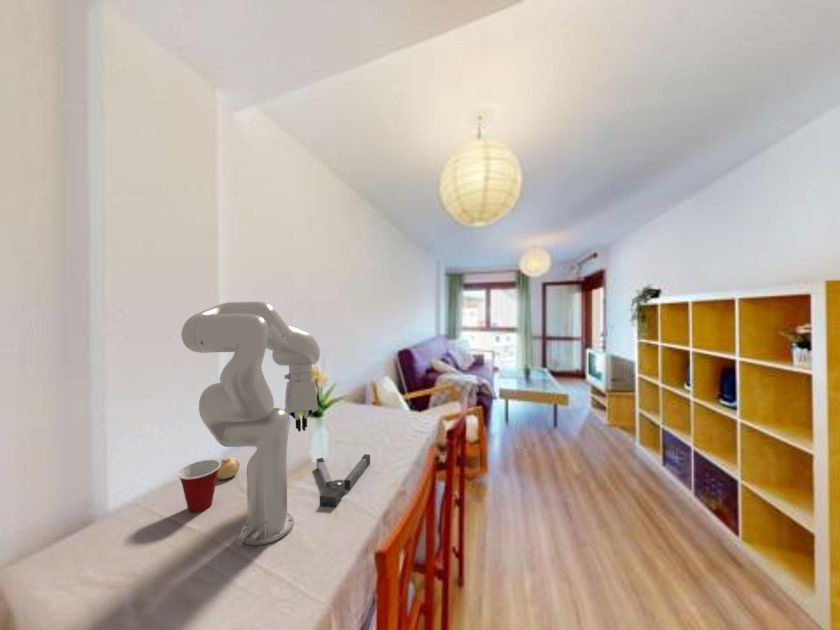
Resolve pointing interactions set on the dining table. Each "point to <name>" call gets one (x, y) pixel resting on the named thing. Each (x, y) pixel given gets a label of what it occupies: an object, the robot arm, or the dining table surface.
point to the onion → (228, 468)
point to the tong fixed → (334, 496)
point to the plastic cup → (199, 483)
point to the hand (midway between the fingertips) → (301, 429)
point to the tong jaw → (329, 478)
